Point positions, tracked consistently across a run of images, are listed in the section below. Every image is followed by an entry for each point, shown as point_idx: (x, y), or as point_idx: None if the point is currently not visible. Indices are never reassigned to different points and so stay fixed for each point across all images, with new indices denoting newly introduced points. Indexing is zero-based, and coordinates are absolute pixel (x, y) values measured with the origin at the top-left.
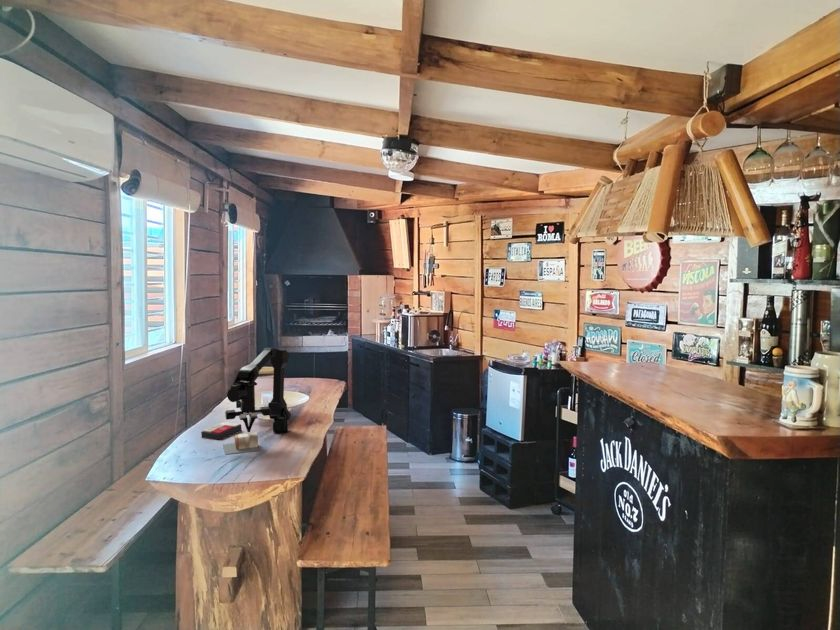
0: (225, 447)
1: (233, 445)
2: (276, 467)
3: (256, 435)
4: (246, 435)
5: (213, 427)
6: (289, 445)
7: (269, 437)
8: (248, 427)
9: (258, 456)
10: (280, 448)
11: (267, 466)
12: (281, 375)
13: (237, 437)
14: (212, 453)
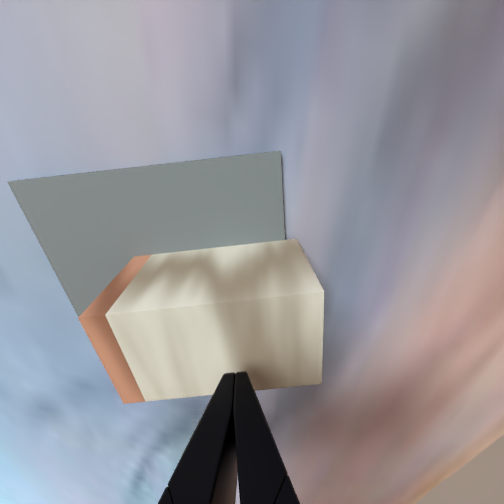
0: (65, 269)
1: (116, 238)
2: (330, 501)
3: (310, 382)
4: (215, 362)
5: None
6: (487, 321)
7: (457, 44)
8: (234, 489)
9: (283, 421)
10: (416, 354)
11: (303, 493)
12: None
13: (134, 393)
14: (18, 340)
